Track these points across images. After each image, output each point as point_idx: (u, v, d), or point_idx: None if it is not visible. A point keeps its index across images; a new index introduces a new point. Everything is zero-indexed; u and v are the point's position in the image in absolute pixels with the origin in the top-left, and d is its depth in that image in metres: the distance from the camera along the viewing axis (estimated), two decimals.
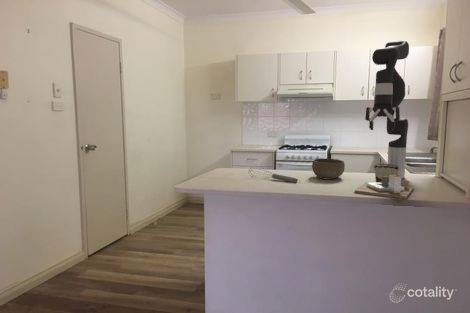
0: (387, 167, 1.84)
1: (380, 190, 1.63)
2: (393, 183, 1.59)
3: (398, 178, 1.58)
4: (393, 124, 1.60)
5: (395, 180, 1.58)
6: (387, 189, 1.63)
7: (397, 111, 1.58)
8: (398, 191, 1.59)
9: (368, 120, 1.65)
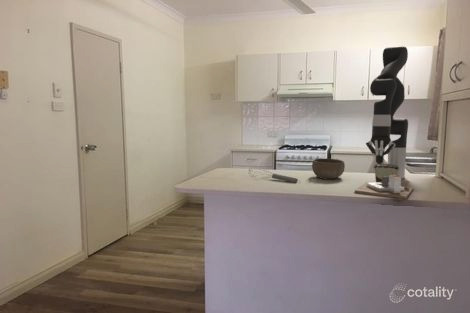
0: (387, 167, 1.84)
1: (380, 190, 1.63)
2: (393, 183, 1.59)
3: (398, 178, 1.58)
4: (381, 157, 1.60)
5: (395, 180, 1.58)
6: (387, 189, 1.63)
7: (390, 147, 1.56)
8: (398, 191, 1.59)
9: (375, 154, 1.61)
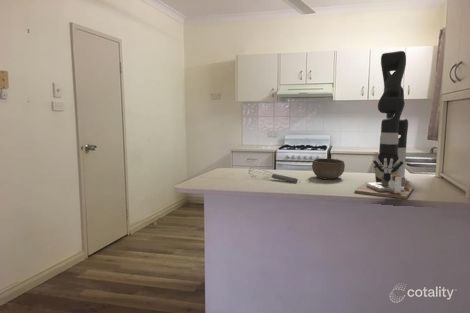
0: (387, 167, 1.84)
1: (380, 190, 1.63)
2: (393, 183, 1.59)
3: (398, 178, 1.58)
4: (389, 175, 1.59)
5: (395, 180, 1.58)
6: (387, 189, 1.63)
7: (399, 165, 1.57)
8: (398, 191, 1.59)
9: (382, 171, 1.60)
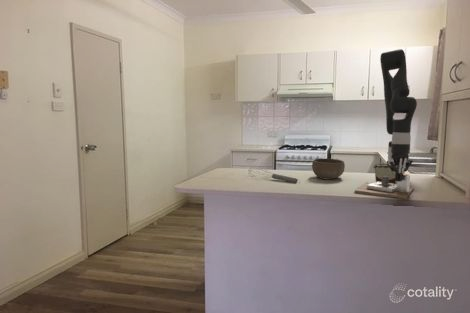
0: (387, 167, 1.84)
1: (392, 191, 1.61)
2: (404, 182, 1.61)
3: (408, 177, 1.61)
4: (401, 175, 1.60)
5: (407, 179, 1.60)
6: (395, 189, 1.63)
7: (410, 164, 1.60)
8: (408, 189, 1.62)
9: (397, 172, 1.59)
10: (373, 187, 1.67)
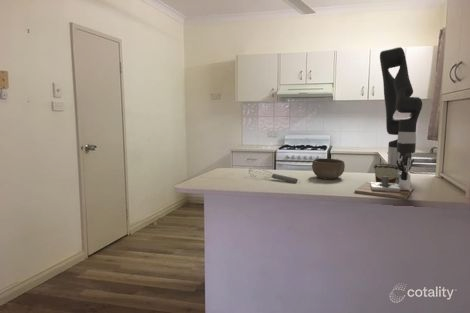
0: (387, 167, 1.84)
1: None
2: (407, 181, 1.64)
3: None
4: None
5: None
6: None
7: (412, 162, 1.64)
8: None
9: (404, 171, 1.61)
10: (379, 188, 1.64)
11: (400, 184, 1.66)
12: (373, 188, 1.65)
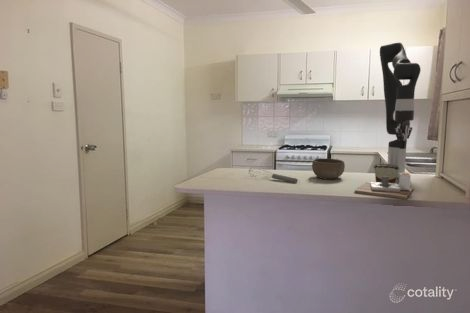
0: (387, 167, 1.84)
1: None
2: (407, 181, 1.64)
3: None
4: None
5: None
6: None
7: (410, 131, 1.61)
8: None
9: (402, 139, 1.58)
10: (379, 188, 1.64)
11: (400, 184, 1.66)
12: (373, 188, 1.65)
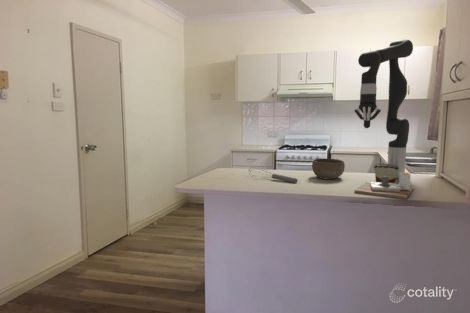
0: (387, 167, 1.84)
1: None
2: (407, 181, 1.64)
3: None
4: (368, 122, 1.80)
5: None
6: None
7: (376, 112, 1.77)
8: None
9: (362, 119, 1.81)
10: (379, 188, 1.64)
11: (400, 184, 1.66)
12: (373, 188, 1.65)
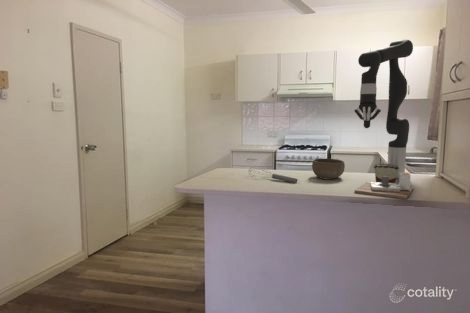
0: (387, 167, 1.84)
1: None
2: (407, 181, 1.64)
3: None
4: (368, 122, 1.80)
5: None
6: None
7: (376, 112, 1.77)
8: None
9: (362, 119, 1.81)
10: (379, 188, 1.64)
11: (400, 184, 1.66)
12: (373, 188, 1.65)
